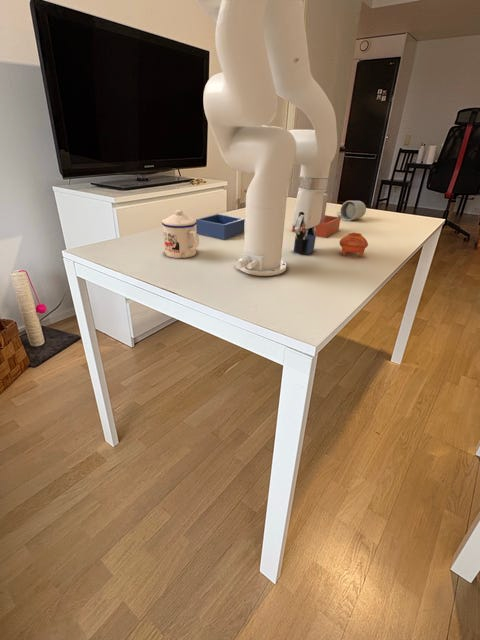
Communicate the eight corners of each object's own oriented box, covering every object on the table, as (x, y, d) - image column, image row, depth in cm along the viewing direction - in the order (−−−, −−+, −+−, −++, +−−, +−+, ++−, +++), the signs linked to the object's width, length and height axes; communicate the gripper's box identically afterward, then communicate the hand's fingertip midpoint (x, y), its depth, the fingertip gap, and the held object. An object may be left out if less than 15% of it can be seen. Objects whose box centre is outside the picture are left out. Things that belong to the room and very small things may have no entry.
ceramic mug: (365, 219, 141) (369, 200, 138) (354, 222, 136) (358, 202, 133) (343, 215, 148) (346, 196, 145) (332, 217, 143) (335, 198, 140)
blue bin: (224, 239, 109) (224, 225, 107) (196, 233, 114) (195, 219, 112) (244, 232, 117) (244, 218, 115) (217, 226, 123) (217, 213, 121)
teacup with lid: (157, 252, 95) (153, 209, 89) (183, 246, 101) (181, 205, 95) (184, 264, 88) (182, 218, 82) (210, 256, 94) (210, 213, 88)
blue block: (307, 254, 98) (309, 238, 96) (293, 251, 100) (295, 235, 98) (313, 250, 101) (316, 235, 99) (299, 247, 103) (301, 233, 101)
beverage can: (322, 231, 120) (328, 195, 114) (308, 230, 121) (313, 194, 115) (322, 228, 124) (327, 193, 118) (309, 227, 125) (313, 192, 119)
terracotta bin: (325, 237, 115) (327, 223, 113) (292, 231, 121) (293, 218, 119) (338, 230, 125) (340, 217, 122) (306, 224, 130) (308, 212, 128)
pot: (352, 260, 95) (352, 235, 93) (333, 257, 102) (333, 234, 100) (374, 255, 98) (374, 231, 96) (354, 254, 105) (354, 231, 103)
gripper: (312, 180, 100) (303, 242, 109) (286, 185, 87) (278, 254, 96) (337, 183, 97) (326, 247, 105) (313, 188, 84) (303, 260, 93)
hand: (303, 249), depth 101 cm, fingers closed on blue block, 4 cm apart
